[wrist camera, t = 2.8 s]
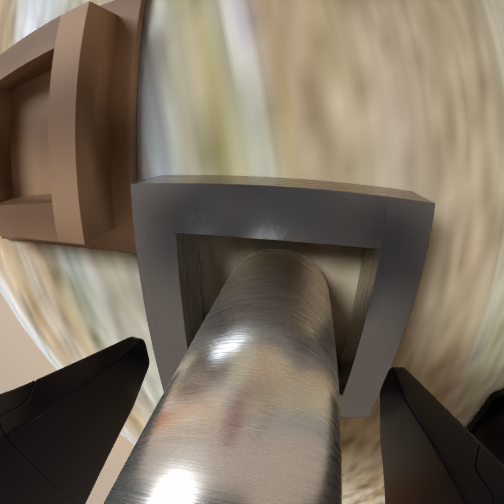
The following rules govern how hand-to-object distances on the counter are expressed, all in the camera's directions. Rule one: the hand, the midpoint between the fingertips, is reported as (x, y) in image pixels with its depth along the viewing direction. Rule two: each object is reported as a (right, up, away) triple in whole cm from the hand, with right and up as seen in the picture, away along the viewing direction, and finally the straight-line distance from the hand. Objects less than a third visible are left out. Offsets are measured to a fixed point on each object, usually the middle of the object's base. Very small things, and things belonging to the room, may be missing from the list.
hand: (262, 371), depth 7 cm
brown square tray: (-10, +9, +3) cm, 14 cm away
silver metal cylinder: (+1, +1, +4) cm, 4 cm away
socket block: (+1, +1, +4) cm, 4 cm away
